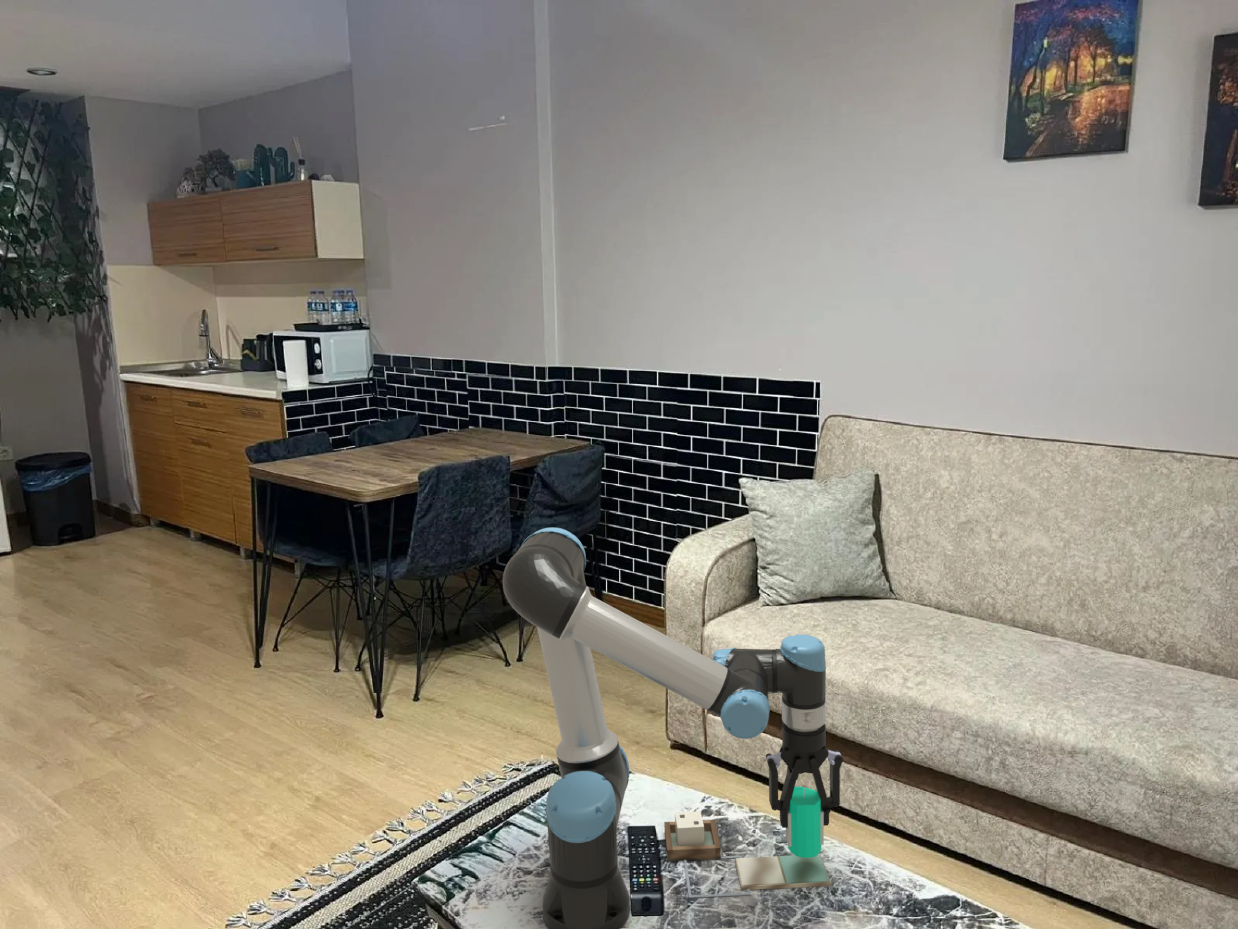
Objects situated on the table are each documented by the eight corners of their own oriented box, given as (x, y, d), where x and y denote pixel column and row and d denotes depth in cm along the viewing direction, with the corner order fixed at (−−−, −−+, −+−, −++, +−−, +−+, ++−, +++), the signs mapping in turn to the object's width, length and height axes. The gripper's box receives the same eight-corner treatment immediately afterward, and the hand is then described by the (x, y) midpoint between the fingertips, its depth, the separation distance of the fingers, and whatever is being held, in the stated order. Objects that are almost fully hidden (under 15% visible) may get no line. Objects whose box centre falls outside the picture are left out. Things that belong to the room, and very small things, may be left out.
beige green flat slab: (741, 890, 163) (741, 885, 163) (735, 862, 171) (734, 857, 171) (830, 886, 163) (831, 881, 163) (820, 858, 171) (820, 853, 171)
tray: (667, 861, 172) (667, 850, 171) (664, 833, 181) (664, 822, 180) (720, 859, 172) (720, 847, 172) (715, 830, 181) (715, 819, 180)
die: (678, 852, 174) (677, 828, 173) (675, 836, 179) (674, 812, 178) (704, 850, 174) (704, 826, 173) (701, 834, 179) (700, 811, 178)
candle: (781, 843, 168) (780, 784, 165) (808, 834, 170) (808, 775, 168) (800, 862, 162) (800, 800, 160) (828, 852, 165) (828, 791, 162)
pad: (688, 898, 162) (688, 897, 162) (683, 859, 172) (683, 858, 172) (751, 895, 162) (751, 894, 162) (741, 856, 173) (741, 855, 173)
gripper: (756, 735, 157) (758, 856, 162) (860, 730, 158) (859, 851, 162) (749, 715, 165) (751, 831, 170) (848, 710, 165) (848, 826, 170)
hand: (804, 841), depth 166 cm, fingers closed on candle, 5 cm apart
